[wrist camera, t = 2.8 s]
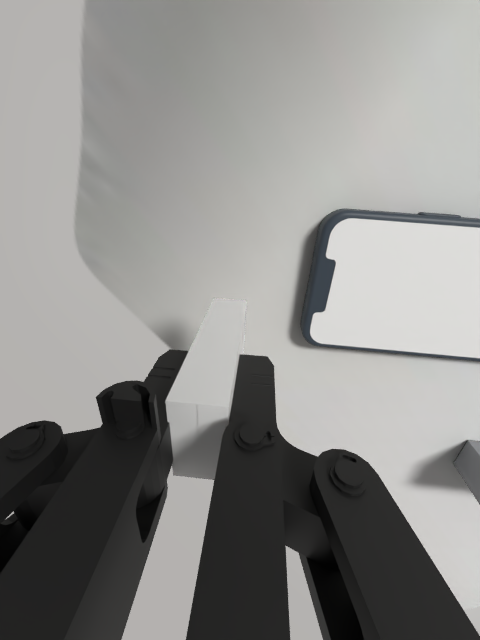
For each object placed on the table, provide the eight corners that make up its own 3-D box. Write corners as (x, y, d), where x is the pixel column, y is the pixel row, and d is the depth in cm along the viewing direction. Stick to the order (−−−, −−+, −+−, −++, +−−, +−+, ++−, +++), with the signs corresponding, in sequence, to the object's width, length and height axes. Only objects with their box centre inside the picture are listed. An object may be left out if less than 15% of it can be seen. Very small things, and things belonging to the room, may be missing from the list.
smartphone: (610, 225, 15) (321, 204, 16) (647, 230, 14) (326, 206, 14) (523, 356, 19) (296, 335, 20) (544, 370, 18) (299, 347, 18)
